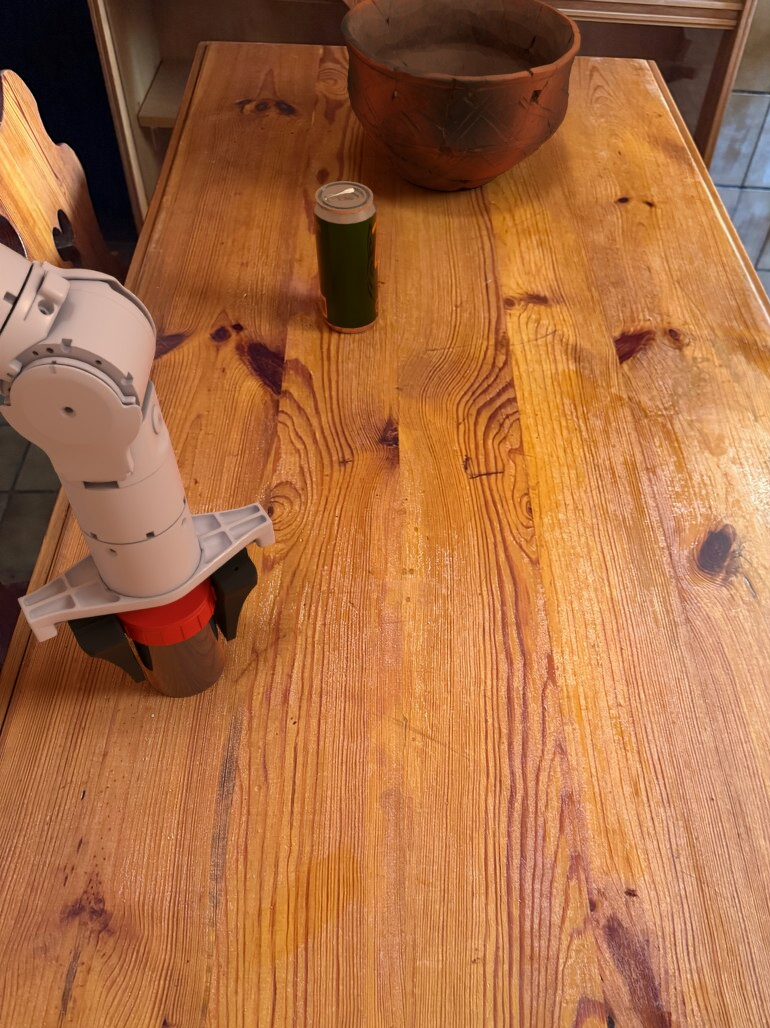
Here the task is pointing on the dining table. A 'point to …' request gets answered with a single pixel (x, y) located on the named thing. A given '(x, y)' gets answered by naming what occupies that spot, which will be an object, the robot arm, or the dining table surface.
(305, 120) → the dining table surface
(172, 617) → the jar lid
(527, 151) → the bowl
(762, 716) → the dining table surface
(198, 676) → the jar
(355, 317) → the beer can
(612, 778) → the dining table surface
